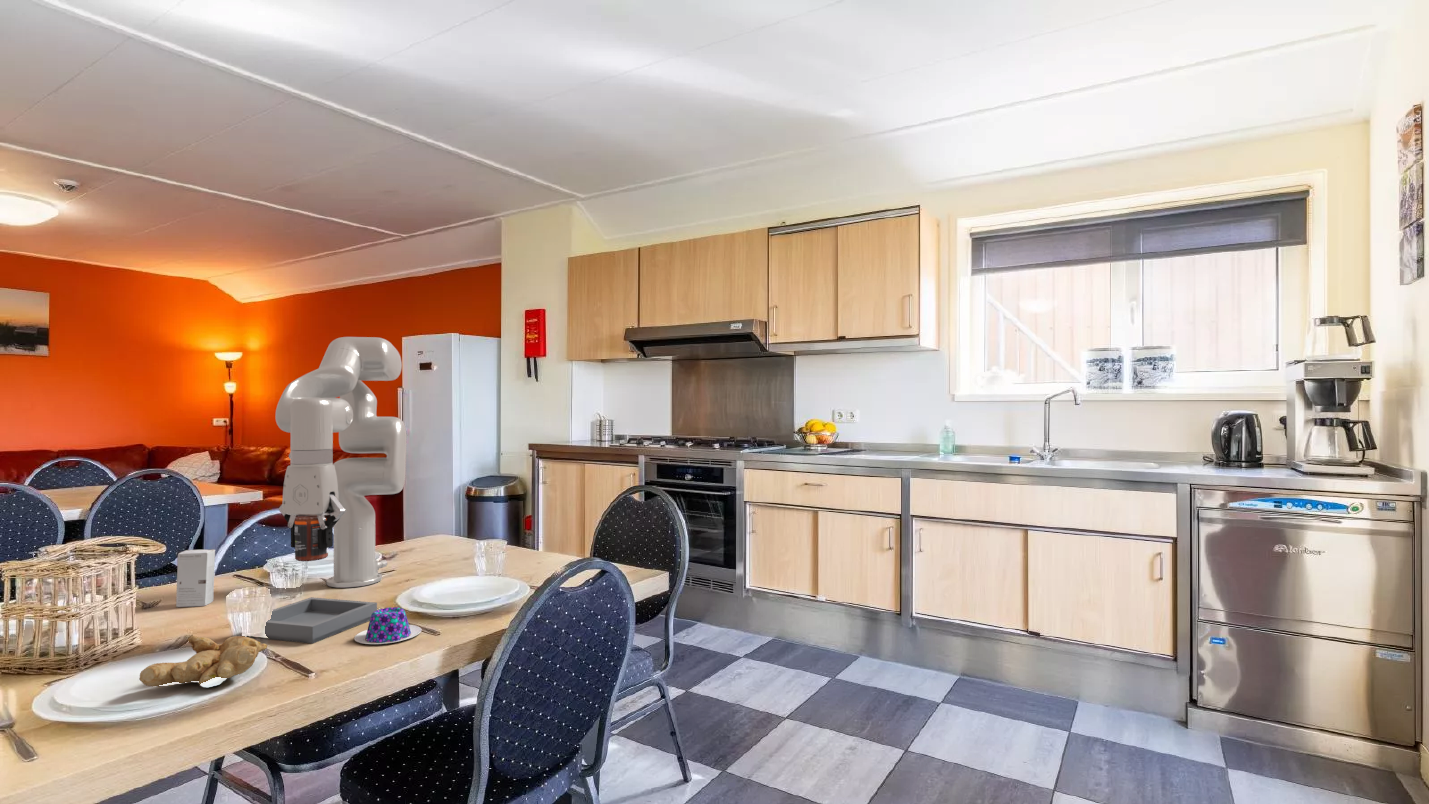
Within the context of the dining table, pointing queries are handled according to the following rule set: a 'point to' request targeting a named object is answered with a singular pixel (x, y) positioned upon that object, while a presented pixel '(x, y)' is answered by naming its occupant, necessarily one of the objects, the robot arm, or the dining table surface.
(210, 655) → the ginger root
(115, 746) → the dining table surface
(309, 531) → the supplement bottle
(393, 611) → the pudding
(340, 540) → the robot arm
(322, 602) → the tray
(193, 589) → the skincare box
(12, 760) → the dining table surface
